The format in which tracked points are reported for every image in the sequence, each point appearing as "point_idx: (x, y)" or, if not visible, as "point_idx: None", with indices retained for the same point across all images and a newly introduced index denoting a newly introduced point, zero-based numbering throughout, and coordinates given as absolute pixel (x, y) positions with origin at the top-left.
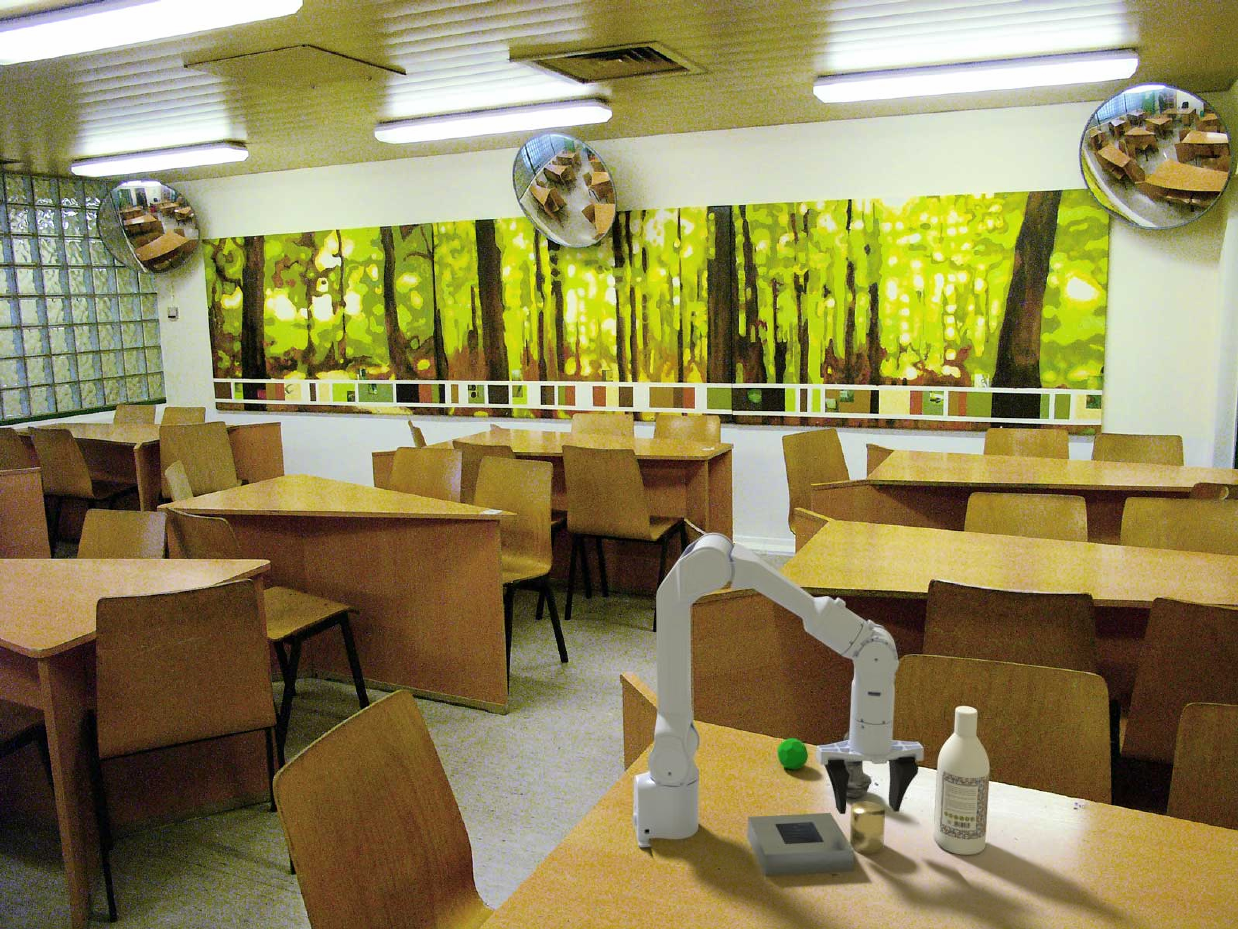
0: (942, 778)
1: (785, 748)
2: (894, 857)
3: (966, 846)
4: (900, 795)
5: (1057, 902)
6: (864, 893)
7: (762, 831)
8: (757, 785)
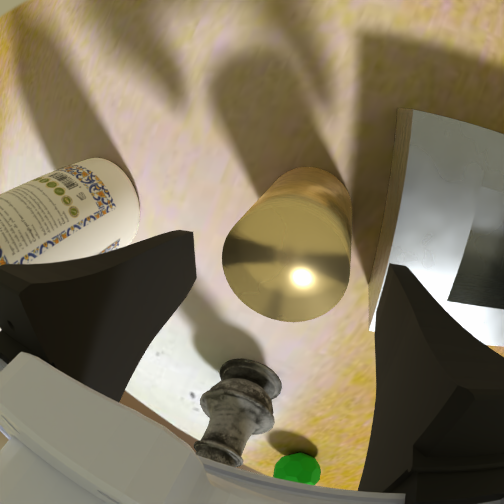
0: None
1: (309, 484)
2: (246, 175)
3: (90, 162)
4: (138, 248)
5: (45, 25)
6: (393, 39)
7: None
8: None
